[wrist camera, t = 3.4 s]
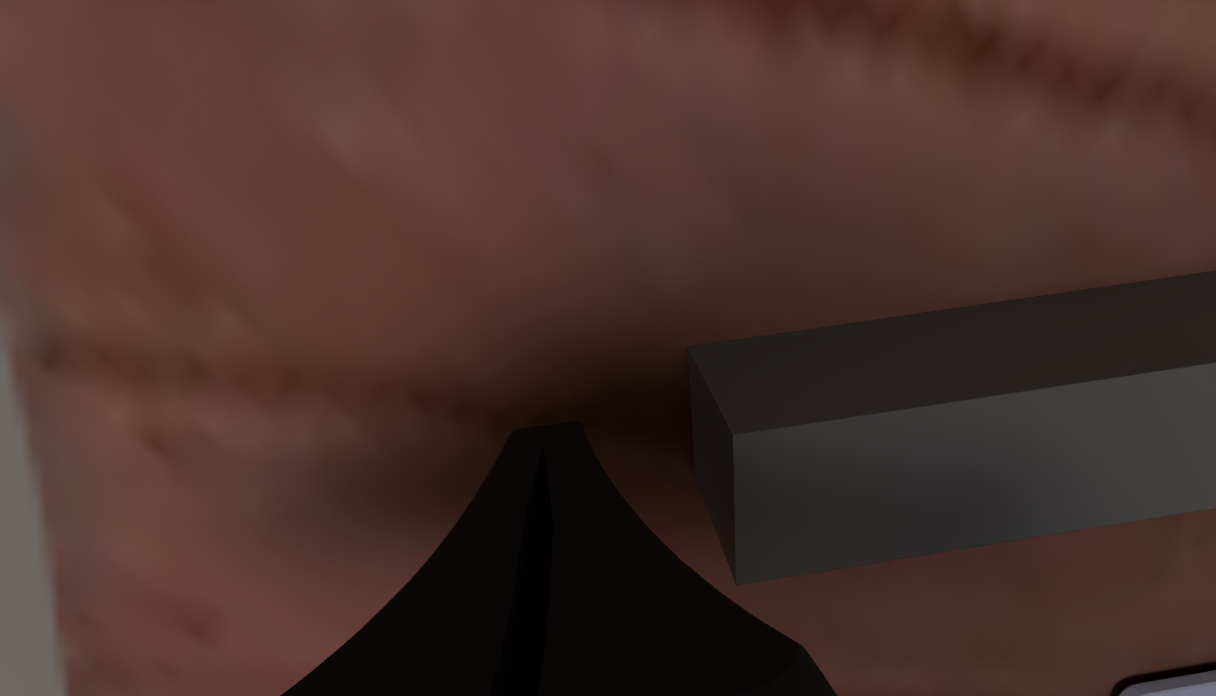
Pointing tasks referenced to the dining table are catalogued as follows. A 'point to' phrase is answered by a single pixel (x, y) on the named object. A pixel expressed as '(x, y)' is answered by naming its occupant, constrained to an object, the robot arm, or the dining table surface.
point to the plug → (957, 426)
